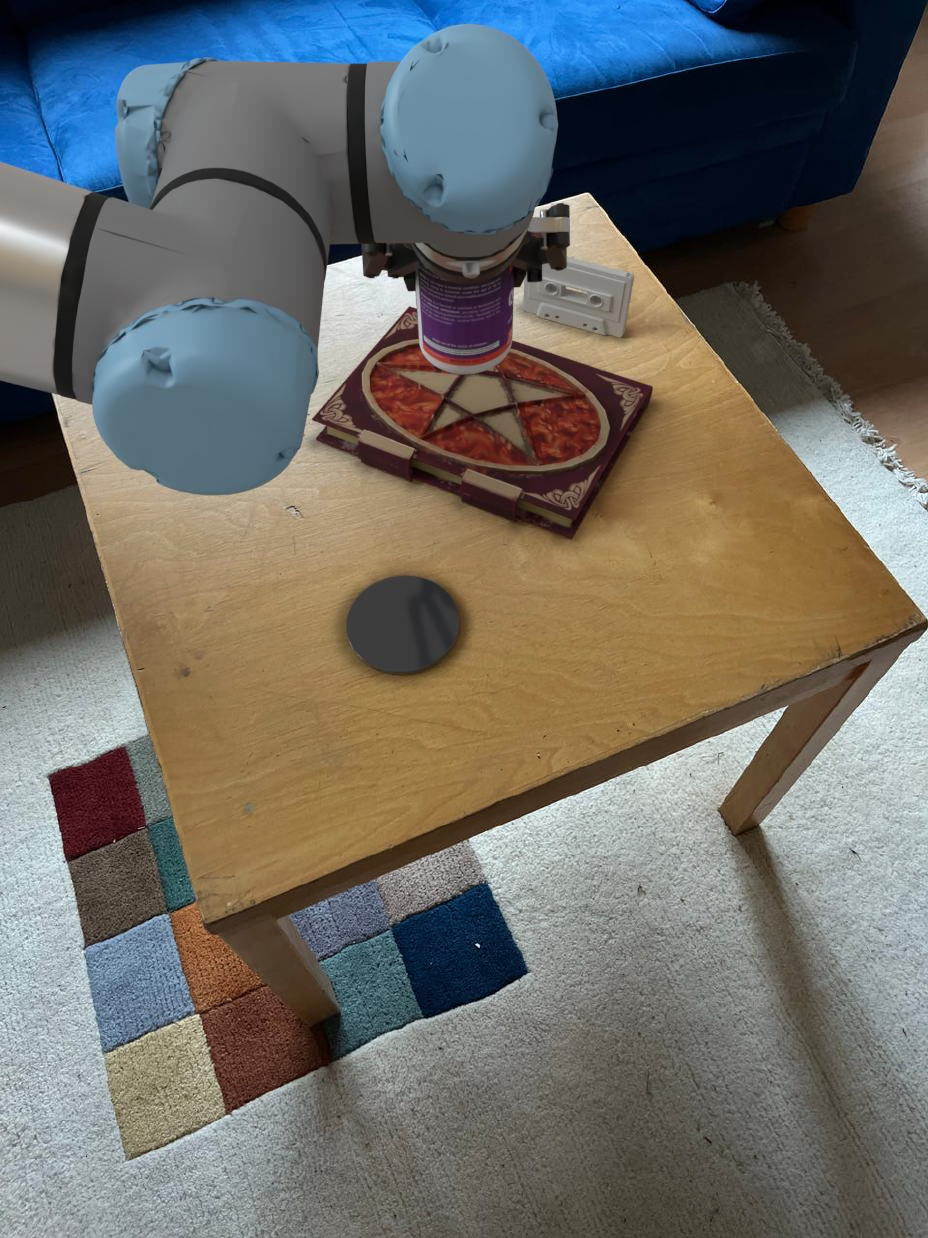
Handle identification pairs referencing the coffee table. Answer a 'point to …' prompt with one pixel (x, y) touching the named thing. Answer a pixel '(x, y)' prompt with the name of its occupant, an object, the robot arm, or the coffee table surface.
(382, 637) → the coaster
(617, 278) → the cassette
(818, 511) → the coffee table surface
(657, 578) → the coffee table surface
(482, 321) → the pill bottle
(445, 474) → the book
